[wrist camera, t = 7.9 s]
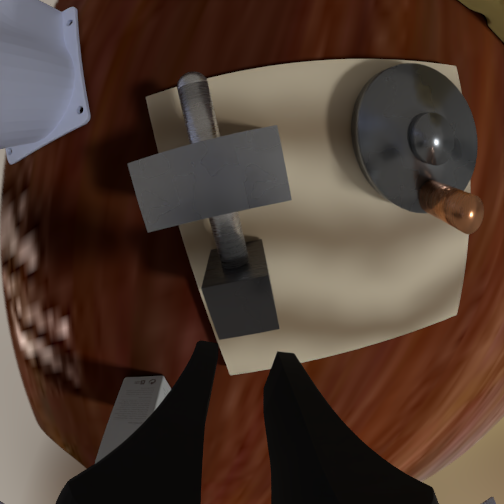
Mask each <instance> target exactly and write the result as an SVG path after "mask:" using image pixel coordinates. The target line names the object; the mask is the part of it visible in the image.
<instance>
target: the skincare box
mask: <svg viewBox="0 0 504 504" xmlns="http://www.w3.org/2000/svg"><path fill="white" fill-rule="evenodd" d="M170 390H171V388H170V386H169V384H168V383H167V381H166V379H165V377H164V376H145V377H125V378H124V380H123V383H122V386H121V388H120V391H119V393H118V396H117V399H116V402H115V404H114V407H113V410H112V413H111V416H110V418H109V421H108V424H107V427H106V430H105V433H104V436H103V439H102V442H101V445H100V448H99V451H98V455H97V458H96V461H95V464H96V463H97V462H98V461H100V460H101V459H102V458H104V457H105V456H106V455H108V454H109V453H110V452H111V451H113V450H114V449H115V448H117V447H118V446H119V445H120V444H121V443H123V442H124V441H125V440H126V439H127V438H128V437H129V436H130V435H131V434H133V433H134V432H135V431H136V430H137V429H138V428H139V427H140V426H141V425H142V424H143V423H144V422H145V421H146V420H147V418H148V417H149V416H150V415H151V414H152V413H153V412H154V411H155V410H156V408H157V407H158V406H159V405H160V404H161V402H162V401H163V400H164V398H165V397H166V396H167V394H168V393H169V392H170Z"/></svg>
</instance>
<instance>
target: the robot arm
mask: <svg viewBox="0 0 504 504" xmlns="http://www.w3.org/2000/svg"><path fill="white" fill-rule="evenodd" d="M71 22H72V24H71V25H70V26H69V24H70V23H71ZM81 107H83V112H82V113H81V114H80V108H81ZM89 120H90V110H89V105H88V99H87V94H86V88H85V81H84V75H83V68H82V60H81V51H80V42H79V30H78V15H77V9H76V8H74V7H70V8H68V9H66V10H65V11H63V12H61V11H59V10H57V9H55V8H53V7H51V6H49V5H47V4H45V3H43V2H41V1H39V0H0V149H3V148H6V154H7V159H8V162H9V163H10V164H14V163H17V162H18V161H20V160H21V159H23V158H24V157H26V156H28V155H29V154H31V153H33V152H34V151H36V150H38V149H40V148H41V147H43V146H45V145H47V144H48V143H50V142H52V141H54V140H56V139H58V138H59V137H61V136H63V135H65V134H67V133H69V132H71V131H73V130H75V129H77V128H79V127H81V126H83V125H85V124H87V123H88V122H89ZM11 149H12V153H11ZM217 360H218V343H212V342H206V341H199V342H197V344H196V347H195V350H194V352H193V355H192V357H191V359H190V361H189V362H188V364H187V366H186V368H185V369H184V371H183V373H182V374H181V376H180V377H179V379H178V380H177V382H176V383H175V385H174V386H173V388H172V389H171V390H170V392H169V393H168V394H167V396H166V397H165V398H164V400H163V401H162V402H161V404H160V405H159V406H158V407H157V408H156V410H155V411H154V412H153V413H152V414H151V415H150V416H149V417H148V418H147V420H146V421H145V422H144V423H143V424H142V425H141V426H140V427H139V428H138V429H137V430H136V431H135V432H134V433H133V434H131V435H130V436H129V437H128V438H127V439H126V440H125V441H124V442H123V443H121V444H120V445H119V446H118V447H117V448H115V449H114V450H113V451H111V452H110V453H109V454H108V455H106V456H105V457H104V458H102V459H101V460H100V461H98V462H97V463H96V464H94V465H92V466H91V467H89V468H88V469H86V470H85V471H83V472H81V473H80V474H78V475H77V476H75V477H73V478H72V479H70V480H69V481H68V482H67V483H66V485H65V486H64V488H63V489H62V491H61V493H60V495H59V497H58V499H57V501H56V504H200V502H201V476H202V458H203V442H204V429H205V421H206V416H207V411H208V407H209V401H210V396H211V391H212V386H213V380H214V375H215V370H216V365H217ZM264 420H265V428H266V435H267V442H268V450H269V457H270V465H271V491H272V497H271V504H439V503H438V501H437V498H436V495H435V493H434V490H433V488H432V487H430V486H429V485H427V484H424V483H422V482H420V481H418V480H417V479H415V478H413V477H411V476H409V475H407V474H405V473H404V472H402V471H401V470H399V469H398V468H396V467H394V466H393V465H391V464H390V463H389V462H387V461H386V460H384V459H383V458H382V457H380V456H379V455H378V454H377V453H376V452H374V451H373V450H372V449H371V448H369V447H368V446H367V445H366V444H365V443H364V442H363V441H361V440H360V439H359V438H358V437H357V436H356V435H355V434H354V433H353V432H352V431H351V430H350V429H349V428H348V427H347V426H346V424H345V423H344V422H343V421H342V420H341V419H340V418H339V416H338V415H337V414H336V413H335V412H334V410H333V409H332V408H331V407H330V405H329V404H328V403H327V401H326V400H325V399H324V397H323V396H322V394H321V393H320V392H319V390H318V389H317V387H316V386H315V385H314V383H313V382H312V380H311V379H310V377H309V375H308V374H307V372H306V371H305V369H304V368H303V366H302V365H301V363H300V361H299V360H298V358H297V357H296V355H295V354H294V353H288V352H278V351H277V354H276V356H275V359H274V362H273V365H272V367H271V370H270V373H269V376H268V378H267V381H266V384H265V386H264ZM0 504H4V503H2V502H1V501H0ZM482 504H496V503H495V500H494V498H493V497H490V498H489V499H488V500H486V501H485V502H483V503H482Z"/></svg>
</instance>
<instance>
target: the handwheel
mask: <svg viewBox="0 0 504 504" xmlns="http://www.w3.org/2000/svg"><path fill="white" fill-rule="evenodd" d="M351 137H352V145H353V150H354V154H355V157H356V160H357V163H358V165H359V167H360V169H361V172H362V173H363V175H364V177H365V178H366V180H367V181H368V183H369V184H370V185H371V187H372V188H373V189H374V190H375V191H376V192H377V193H378V194H379V195H381V196H382V197H383V198H385V199H386V200H388V201H390V202H391V203H393V204H395V205H397V206H399V207H400V208H403V209H405V210H407V211H410V212H415V213H429V214H431V215H433V216H434V217H436V218H438V219H440V220H442V221H444V222H445V223H447V224H449V225H451V226H453V227H454V228H456V229H458V230H460V231H461V232H463V233H465V234H471V233H473V232H475V231H476V230H477V229H478V227H479V226H480V224H481V222H482V219H483V213H484V208H483V203H482V201H481V199H480V198H479V197H478V196H475V195H473V194H470V193H468V192H465V191H464V190H465V188H466V187H467V185H468V183H469V181H470V179H471V176H472V174H473V171H474V167H475V163H476V157H477V134H476V127H475V123H474V119H473V116H472V113H471V110H470V108H469V106H468V104H467V102H466V100H465V98H464V97H463V95H462V94H461V92H460V91H459V89H458V88H457V87H456V86H455V85H454V84H453V83H452V82H451V81H450V80H449V79H448V78H447V77H446V76H445V75H443V74H442V73H440V72H439V71H437V70H435V69H433V68H431V67H428V66H425V65H422V64H416V63H405V64H399V65H396V66H393V67H390V68H388V69H385V70H382V71H381V72H379V73H377V74H375V75H374V76H373V77H372V78H371V79H369V80H368V82H367V83H366V84H365V85H364V86H363V88H362V90H361V91H360V93H359V95H358V97H357V99H356V102H355V105H354V109H353V113H352V120H351Z"/></svg>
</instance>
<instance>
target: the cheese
mask: <svg viewBox="0 0 504 504" xmlns="http://www.w3.org/2000/svg"><path fill="white" fill-rule="evenodd" d="M458 1H460V2H461V3H462V4H463V5H465V6H466V7H468V8H469V9H471V10H473V11H475V12H479V13H482V14H483V15H485V17H486V19H487V24H488V26H489V27H490V29H491V30H492V31H493V32H494V33H495V34H496V35H497V36H498V37H499V38H500V39H501V40H502V41H503V42H504V0H458Z"/></svg>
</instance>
